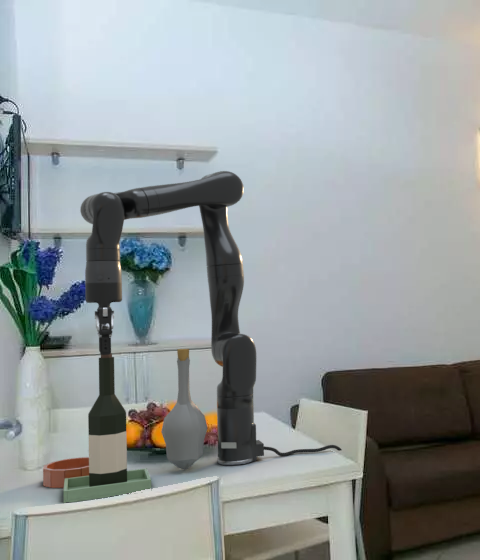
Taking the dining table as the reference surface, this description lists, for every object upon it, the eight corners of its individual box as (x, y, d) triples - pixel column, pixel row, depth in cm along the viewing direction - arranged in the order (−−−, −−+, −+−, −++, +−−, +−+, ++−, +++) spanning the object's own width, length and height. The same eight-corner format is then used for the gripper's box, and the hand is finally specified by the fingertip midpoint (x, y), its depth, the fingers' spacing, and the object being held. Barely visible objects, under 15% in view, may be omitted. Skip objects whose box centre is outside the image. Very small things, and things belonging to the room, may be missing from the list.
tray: (147, 479, 161) (146, 468, 161) (151, 491, 151) (151, 479, 151) (64, 490, 153) (64, 478, 154) (63, 503, 143) (63, 491, 143)
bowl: (101, 470, 170) (101, 454, 170) (103, 482, 159) (103, 465, 159) (44, 477, 165) (44, 461, 165) (42, 490, 153) (41, 473, 153)
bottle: (155, 469, 170) (153, 349, 171) (199, 461, 177) (197, 346, 178) (169, 478, 161) (167, 351, 162) (215, 470, 168) (213, 348, 169)
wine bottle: (134, 481, 157) (131, 351, 157) (120, 492, 148) (118, 354, 149) (97, 483, 156) (95, 352, 157) (81, 493, 148) (79, 356, 149)
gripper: (123, 280, 148) (124, 354, 148) (120, 282, 161) (121, 350, 161) (85, 280, 145) (86, 356, 145) (85, 282, 158) (86, 352, 158)
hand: (105, 353), depth 153 cm, fingers open, 8 cm apart
